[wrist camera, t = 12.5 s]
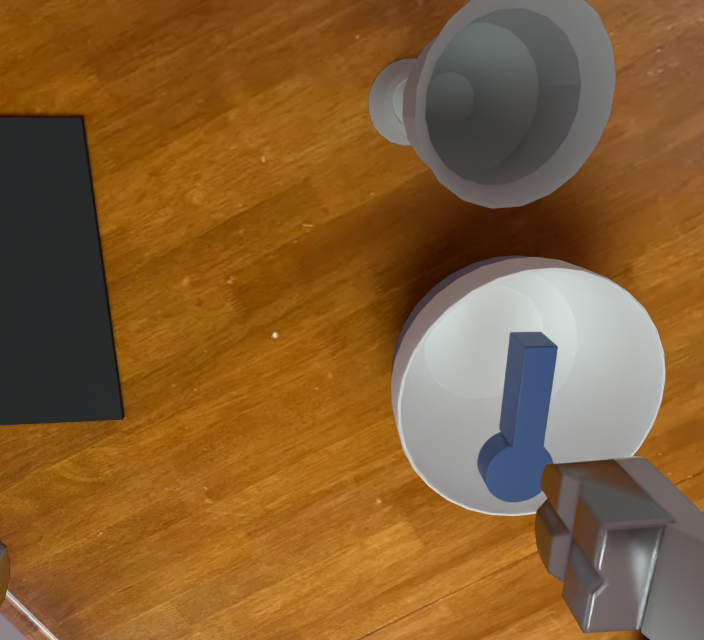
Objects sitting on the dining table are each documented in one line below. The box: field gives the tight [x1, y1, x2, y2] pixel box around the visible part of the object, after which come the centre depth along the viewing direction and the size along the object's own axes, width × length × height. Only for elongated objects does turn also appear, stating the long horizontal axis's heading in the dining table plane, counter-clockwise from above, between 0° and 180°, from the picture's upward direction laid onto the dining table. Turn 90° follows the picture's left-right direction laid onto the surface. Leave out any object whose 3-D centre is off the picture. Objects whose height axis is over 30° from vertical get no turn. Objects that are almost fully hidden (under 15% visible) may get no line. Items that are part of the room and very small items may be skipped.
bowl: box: [391, 255, 665, 516], centre depth 38 cm, size 16×16×10 cm
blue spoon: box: [477, 332, 558, 502], centre depth 33 cm, size 10×4×2 cm, turn 179°
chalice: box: [369, 0, 616, 209], centre depth 28 cm, size 7×7×18 cm
